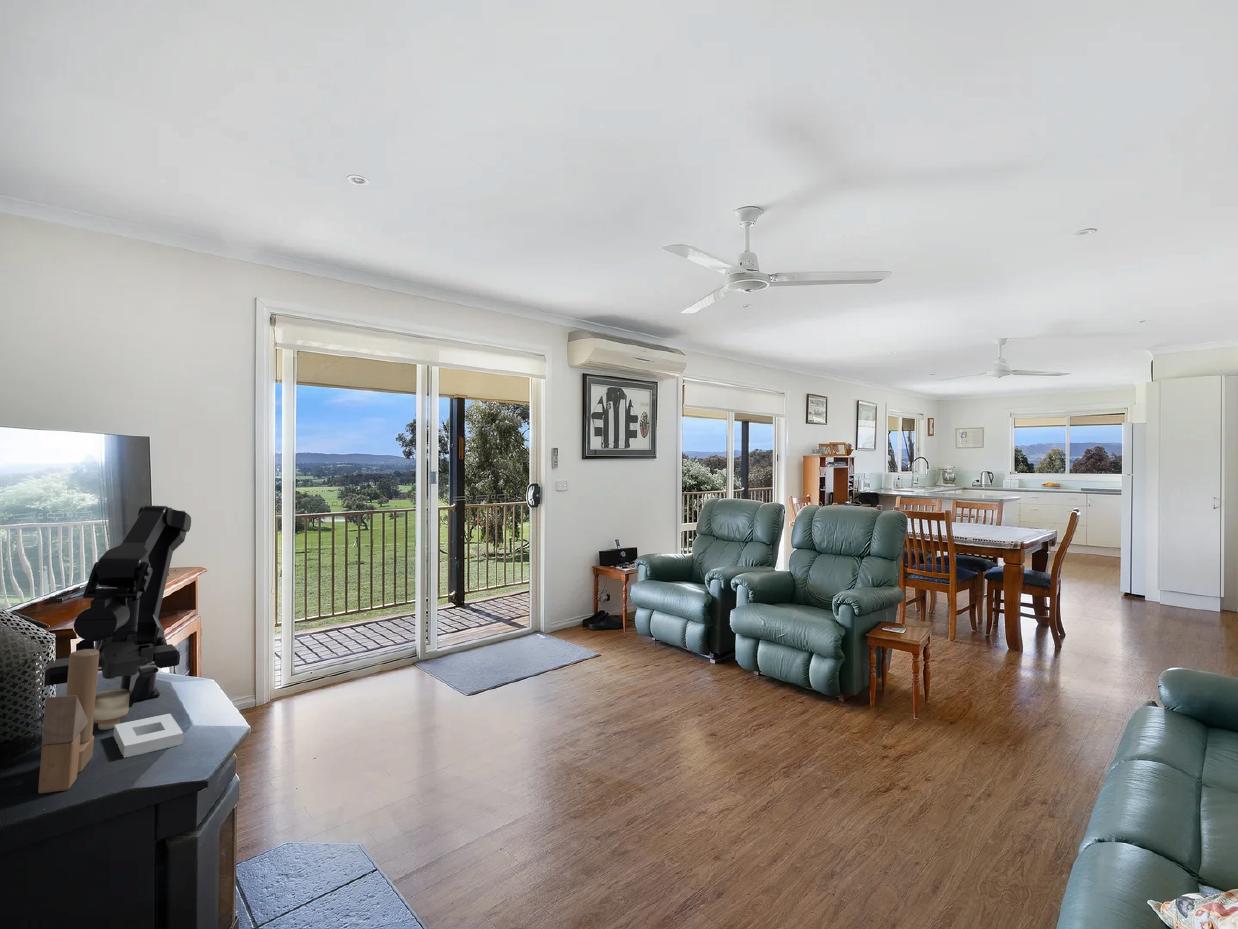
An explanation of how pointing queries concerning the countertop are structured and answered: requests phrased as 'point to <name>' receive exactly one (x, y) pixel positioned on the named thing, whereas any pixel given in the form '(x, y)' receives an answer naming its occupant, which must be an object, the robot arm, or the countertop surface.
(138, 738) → the board
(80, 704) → the wooden block
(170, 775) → the countertop surface
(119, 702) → the peg
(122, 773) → the countertop surface
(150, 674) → the robot arm
